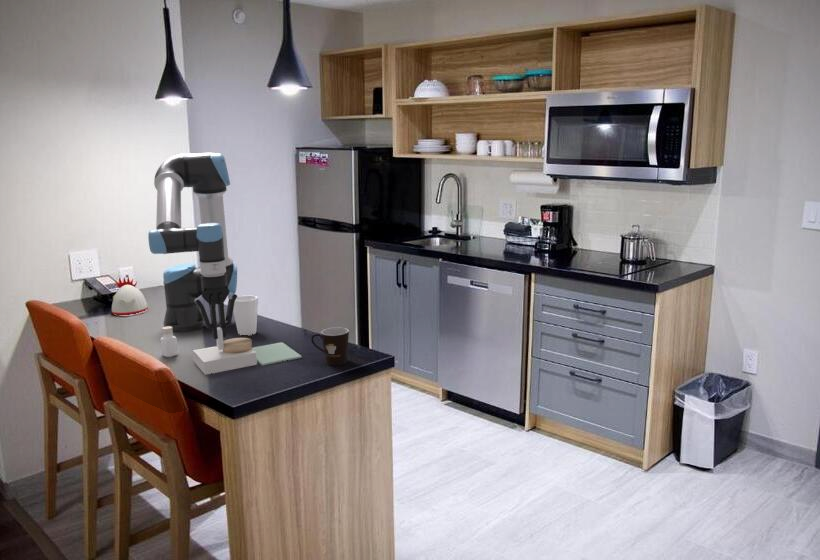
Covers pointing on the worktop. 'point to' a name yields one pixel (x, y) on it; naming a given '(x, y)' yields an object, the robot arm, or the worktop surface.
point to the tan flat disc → (237, 345)
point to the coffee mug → (334, 345)
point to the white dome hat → (128, 299)
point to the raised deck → (222, 360)
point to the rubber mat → (275, 353)
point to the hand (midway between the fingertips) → (220, 348)
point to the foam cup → (246, 314)
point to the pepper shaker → (168, 342)
